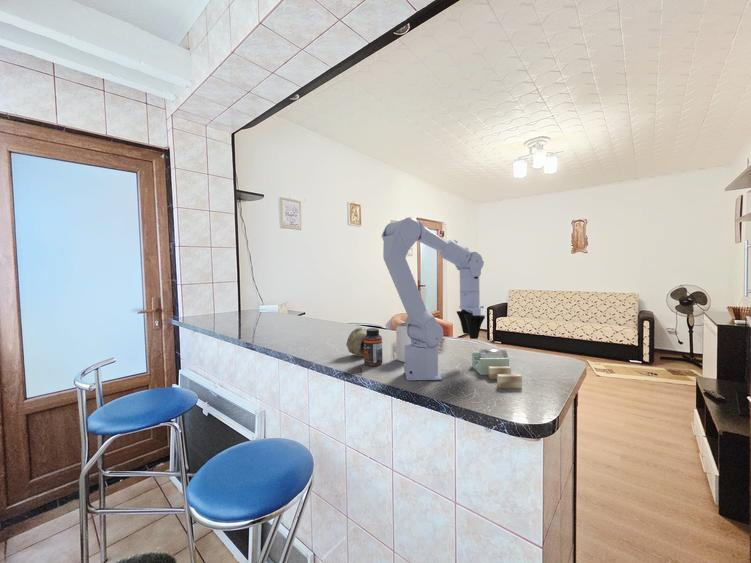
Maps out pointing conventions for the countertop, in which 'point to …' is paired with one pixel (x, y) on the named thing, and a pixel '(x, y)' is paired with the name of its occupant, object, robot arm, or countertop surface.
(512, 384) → the beige blocks
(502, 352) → the axle
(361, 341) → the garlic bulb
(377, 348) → the supplement bottle
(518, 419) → the countertop surface
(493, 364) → the v block
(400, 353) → the can
